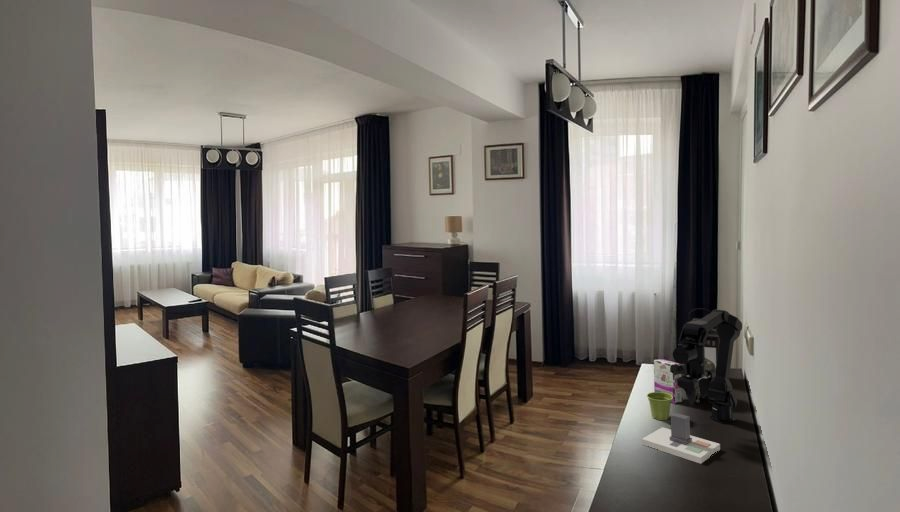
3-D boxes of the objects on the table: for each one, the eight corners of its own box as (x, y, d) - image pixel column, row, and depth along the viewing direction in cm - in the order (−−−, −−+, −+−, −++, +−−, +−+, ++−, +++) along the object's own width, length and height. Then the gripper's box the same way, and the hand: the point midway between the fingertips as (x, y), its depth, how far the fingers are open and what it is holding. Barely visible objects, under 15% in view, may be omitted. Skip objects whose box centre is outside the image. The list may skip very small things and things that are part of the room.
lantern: (725, 376, 240) (724, 305, 238) (722, 387, 225) (721, 311, 223) (686, 372, 249) (684, 303, 247) (681, 382, 235) (679, 309, 233)
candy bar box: (683, 402, 210) (682, 363, 209) (674, 404, 208) (673, 365, 207) (662, 394, 220) (661, 358, 219) (654, 396, 218) (652, 359, 217)
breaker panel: (662, 432, 181) (662, 426, 181) (720, 449, 165) (719, 443, 165) (642, 444, 172) (641, 438, 172) (700, 463, 157) (700, 457, 156)
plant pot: (676, 422, 189) (675, 400, 189) (650, 421, 191) (649, 399, 191) (670, 413, 198) (669, 392, 198) (645, 412, 200) (644, 391, 200)
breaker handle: (675, 435, 172) (675, 412, 172) (692, 440, 168) (691, 416, 168) (669, 439, 170) (668, 415, 169) (685, 444, 165) (685, 419, 165)
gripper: (685, 349, 189) (686, 389, 190) (661, 360, 177) (662, 402, 178) (715, 353, 181) (717, 395, 182) (693, 365, 169) (694, 410, 170)
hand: (697, 400), depth 178 cm, fingers open, 9 cm apart
